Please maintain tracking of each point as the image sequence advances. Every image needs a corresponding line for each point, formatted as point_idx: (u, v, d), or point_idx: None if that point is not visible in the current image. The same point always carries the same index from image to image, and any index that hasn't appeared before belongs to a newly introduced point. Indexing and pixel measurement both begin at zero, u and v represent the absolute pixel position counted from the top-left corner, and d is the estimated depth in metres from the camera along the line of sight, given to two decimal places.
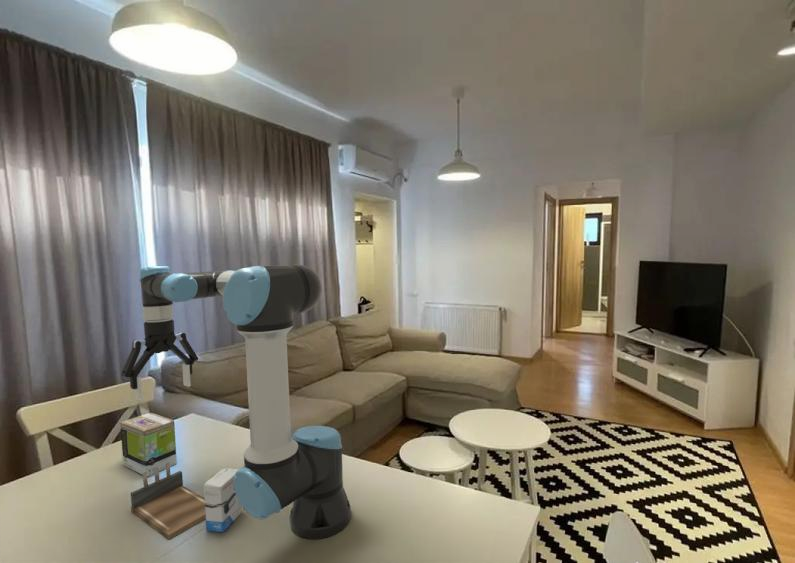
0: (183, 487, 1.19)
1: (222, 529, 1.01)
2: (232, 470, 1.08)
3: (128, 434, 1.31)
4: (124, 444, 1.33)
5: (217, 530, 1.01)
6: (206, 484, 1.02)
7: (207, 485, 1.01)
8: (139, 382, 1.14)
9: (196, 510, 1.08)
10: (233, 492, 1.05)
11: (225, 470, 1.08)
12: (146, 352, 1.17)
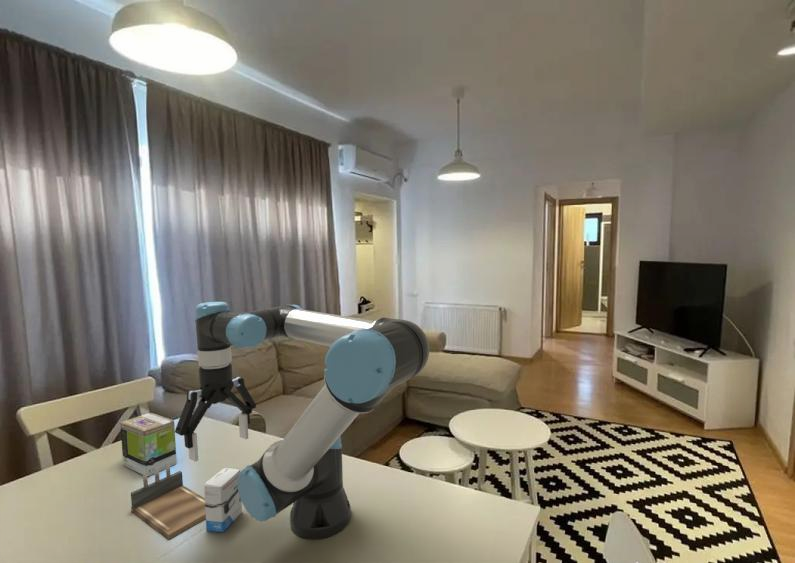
0: (183, 487, 1.19)
1: (222, 529, 1.01)
2: (232, 470, 1.08)
3: (128, 434, 1.31)
4: (124, 444, 1.33)
5: (217, 530, 1.01)
6: (206, 484, 1.02)
7: (207, 485, 1.01)
8: (195, 440, 0.98)
9: (196, 510, 1.08)
10: (233, 492, 1.05)
11: (225, 470, 1.08)
12: (202, 403, 1.00)
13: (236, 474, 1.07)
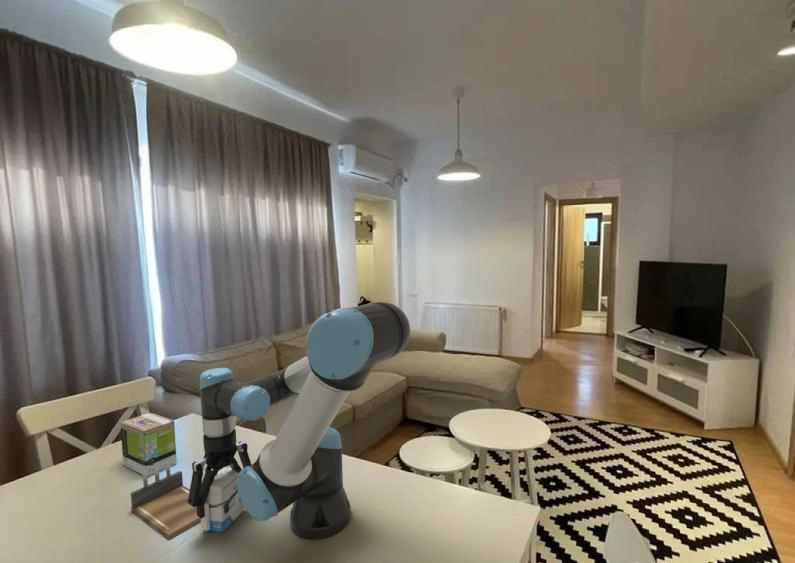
0: (183, 487, 1.19)
1: (222, 529, 1.01)
2: (232, 470, 1.08)
3: (128, 434, 1.31)
4: (124, 444, 1.33)
5: (217, 530, 1.01)
6: None
7: None
8: (207, 510, 1.00)
9: (196, 510, 1.08)
10: (233, 492, 1.05)
11: (225, 470, 1.08)
12: (208, 472, 1.02)
13: (236, 474, 1.07)
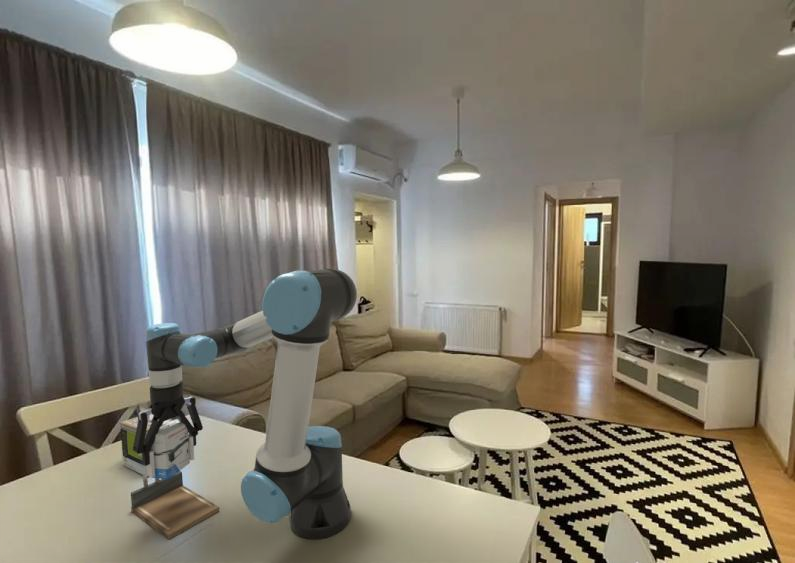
0: (183, 487, 1.19)
1: (167, 476, 1.05)
2: (180, 422, 1.12)
3: (128, 434, 1.31)
4: (124, 444, 1.33)
5: (162, 477, 1.05)
6: None
7: None
8: (152, 457, 1.04)
9: (196, 510, 1.08)
10: (179, 442, 1.09)
11: (173, 422, 1.12)
12: (154, 422, 1.06)
13: (183, 426, 1.11)
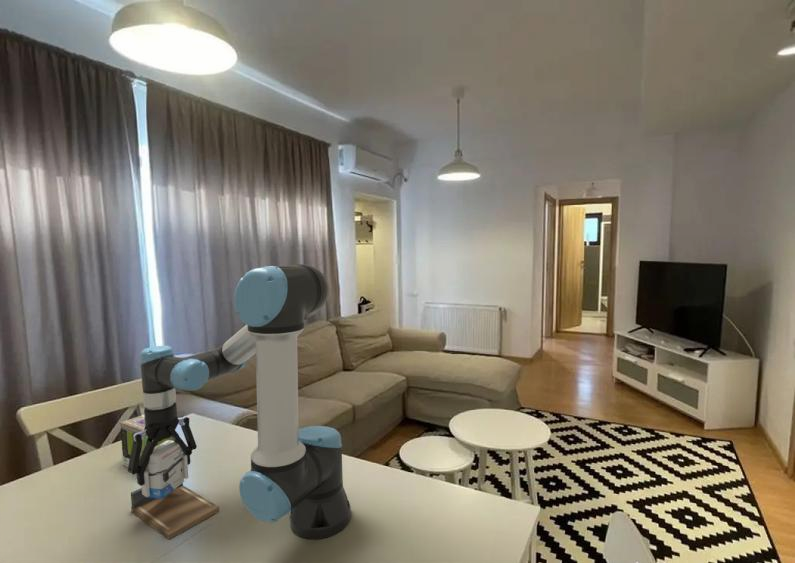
0: (183, 487, 1.19)
1: (161, 496, 1.08)
2: (174, 442, 1.15)
3: (128, 434, 1.31)
4: (124, 444, 1.33)
5: (156, 497, 1.08)
6: None
7: None
8: (146, 477, 1.07)
9: (196, 510, 1.08)
10: (174, 462, 1.12)
11: (167, 442, 1.15)
12: (149, 443, 1.08)
13: (177, 445, 1.13)
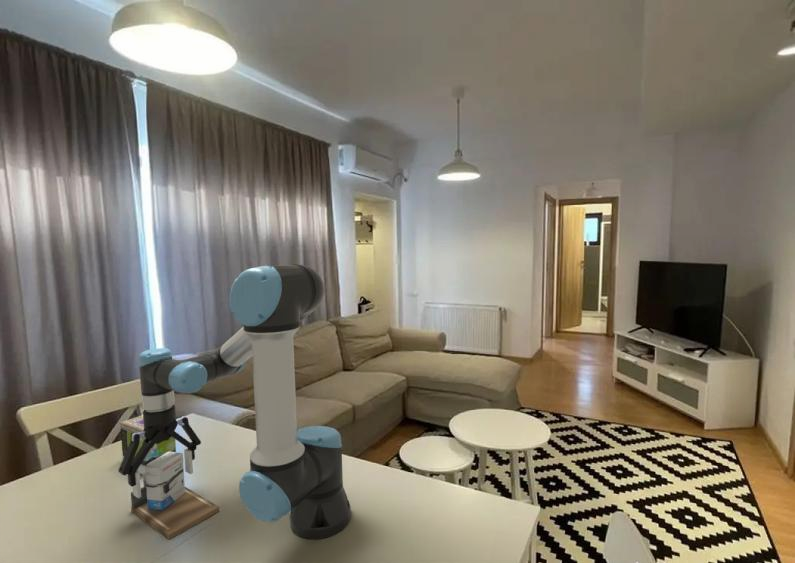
0: None
1: (161, 507, 1.08)
2: (175, 453, 1.15)
3: (128, 434, 1.31)
4: (124, 444, 1.33)
5: (157, 508, 1.09)
6: (147, 465, 1.09)
7: (148, 466, 1.09)
8: (138, 478, 1.06)
9: (196, 510, 1.08)
10: (174, 474, 1.12)
11: (169, 453, 1.15)
12: (145, 444, 1.09)
13: (178, 457, 1.14)
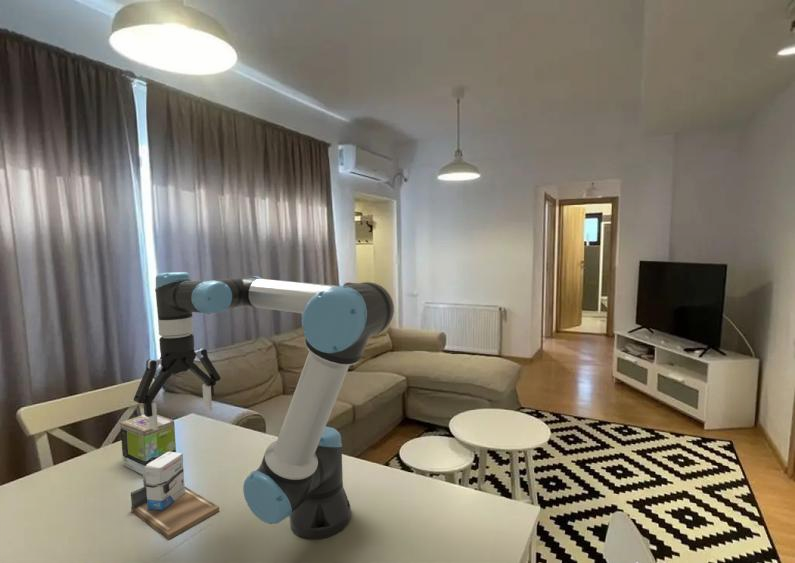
0: None
1: (161, 507, 1.08)
2: (175, 453, 1.15)
3: (128, 434, 1.31)
4: (124, 444, 1.33)
5: (157, 508, 1.09)
6: (147, 465, 1.09)
7: (148, 466, 1.09)
8: (154, 408, 0.98)
9: (196, 510, 1.08)
10: (174, 474, 1.12)
11: (168, 453, 1.15)
12: (162, 373, 1.00)
13: (178, 457, 1.14)
